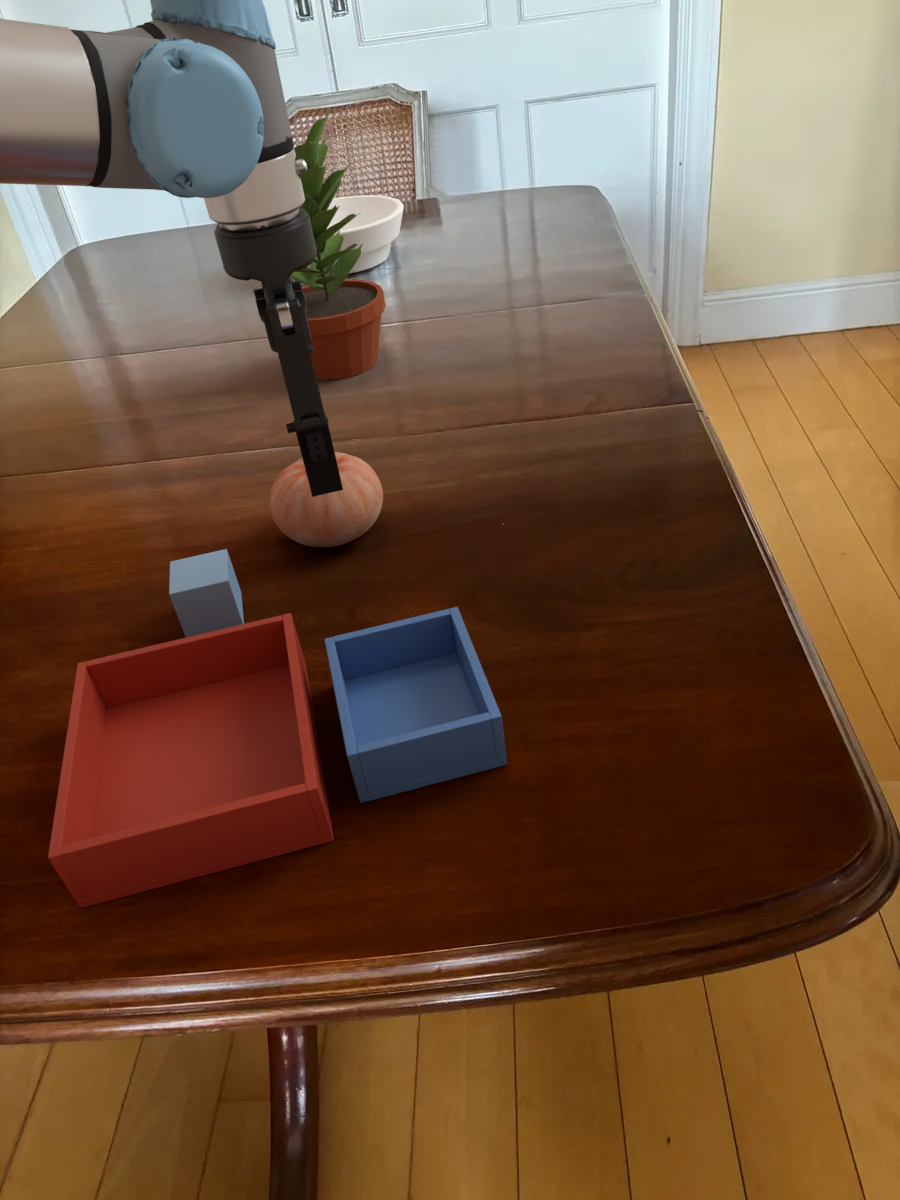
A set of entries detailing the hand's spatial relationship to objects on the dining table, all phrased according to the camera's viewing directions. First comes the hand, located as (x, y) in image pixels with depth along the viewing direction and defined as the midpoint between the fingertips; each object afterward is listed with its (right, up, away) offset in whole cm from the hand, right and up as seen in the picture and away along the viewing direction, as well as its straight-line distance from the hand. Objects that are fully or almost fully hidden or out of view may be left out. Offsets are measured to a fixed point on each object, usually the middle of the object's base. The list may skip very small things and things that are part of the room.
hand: (318, 455), depth 83 cm
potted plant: (-3, +18, +38) cm, 42 cm away
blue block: (-9, -15, -3) cm, 17 cm away
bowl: (-6, +45, +72) cm, 85 cm away
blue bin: (+10, -22, -17) cm, 29 cm away
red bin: (-5, -26, -18) cm, 32 cm away
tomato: (+1, -7, +5) cm, 9 cm away
